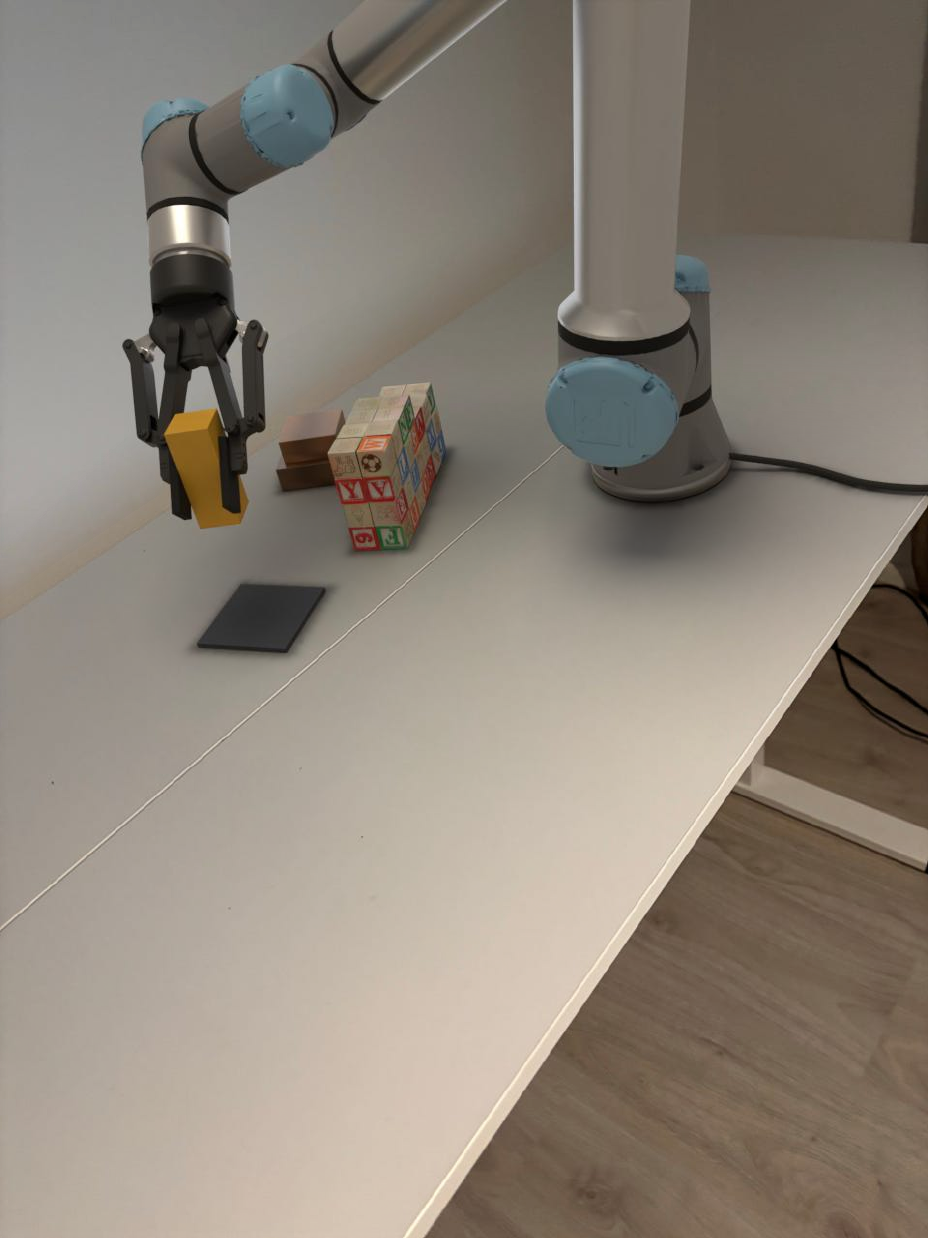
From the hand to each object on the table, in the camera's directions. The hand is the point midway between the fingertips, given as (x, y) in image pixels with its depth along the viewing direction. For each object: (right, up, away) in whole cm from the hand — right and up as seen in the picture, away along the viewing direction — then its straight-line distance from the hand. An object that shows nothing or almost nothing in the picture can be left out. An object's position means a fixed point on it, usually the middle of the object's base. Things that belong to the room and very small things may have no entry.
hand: (206, 512), depth 93 cm
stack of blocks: (+16, +4, +27) cm, 31 cm away
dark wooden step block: (+6, +9, +36) cm, 38 cm away
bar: (+1, 0, +5) cm, 5 cm away
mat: (+3, -10, +12) cm, 16 cm away
